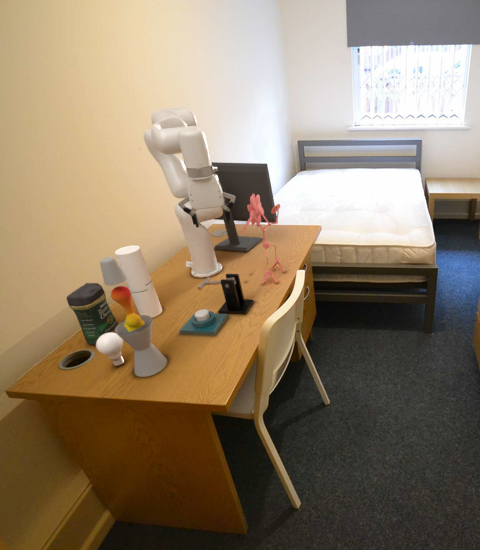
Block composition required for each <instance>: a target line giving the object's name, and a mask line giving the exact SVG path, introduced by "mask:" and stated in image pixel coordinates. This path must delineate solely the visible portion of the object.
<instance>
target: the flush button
mask: <svg viewBox="0 0 480 550" xmlns="http://www.w3.org/2000/svg"><path fill="white" fill-rule="evenodd" d="M209 311H210V310H208V309H205V308H204V309H199V310H197V311H195V312H194V313H195V318H196V321H198V322H202V321H205V320H207V319H209V318H210V314H209Z"/></svg>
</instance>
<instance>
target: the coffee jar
mask: <svg viewBox="0 0 480 550" xmlns="http://www.w3.org/2000/svg"><path fill="white" fill-rule="evenodd" d="M66 301H67V304H68V307H69V308H70V309H71V310H72V311H73V313H74V314H75V316H76V319H77V322H78V323H79V326H80V328H81V332H82V334H83V337H84V340H85V342H86V344H88V345H91V346H96V342H97V340H98V338H99V337H100V336H101V335H103V334H105V333H109V332H113V333H116V332H115V328H116V327H117V326H118V324H119V322H118V320H117V319H116V317H115V315H114V313H113V311H112V309H111V307H110V306H109V303H108V301H107V297H106V292H105V290H104V288H103V286H102V285H101V284H100V283H98V282H86V283H84V284H83V285H81V286H80V287H78V288H76V289H75V290H74V291H72V292H71V293H70V294H68V295H67V296H66Z"/></svg>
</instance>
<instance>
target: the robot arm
mask: <svg viewBox="0 0 480 550" xmlns="http://www.w3.org/2000/svg"><path fill="white" fill-rule="evenodd" d="M150 119H151V124H152V125H151V127H150V128H147V129H146V130H144V132H143V141H144V143H145V146H146V148H147V150H148V152H149V153H150V154H151V156H152V158H153V159H154V160H155V161H156V162H157V163H158V165H159V167H160V168H161V170H162V172H163V175H164V178H165V180H166V183H167V185H168V188H169V190H170V192H171V195H173V197H175V198H176V199H181V200H180V201H178V202H177V203H176V204H175V205H174V214H175V216H176V218H177V221H178V222H179V225H180V227H181V230H182V232H183V235H184V239H185V241H186V245H187V249H188V251H189V256H190V259H191V260H186V261H185V268H188V269H191V271H190V273H191V276H193V277H194V278H199V279H200V278H201V279H202V278H207V277H213V276H215V275H218V274H219V273H220V272H221V271H222V270H223V265H222V264H221V263H220V262H218V261H217V260H218V259H217V256H216V252H215V249H214V244H213V240H212V237H211V232H210V230H209V229H208V228H207V227H206V226H205V225H204V224H202V223H204V222H207V221H211V220H215V219H216V218H219V217H221V216H222V214H223V209H225V215H226V220H227V223H230V222H229V220H231V216H230V209H231V208H232V206H233V205H234V201H235V196H234V195H231V194H228V193H225V192H223V191H222V188H221V184H220V181H219V179H218V176H217V174H214V172H216V171H218V168H217V167H215V166H212V163H211V162H212V160H211V154H210V152H209V146H208V142H207V138H206V134H205V131H203V129H201V128H200V127H199V126H198V121H197V118H196V115H195V113H194V112H193V111H192V110H191V109H190V108H188V107H185V106H182V107H165V108H159V109H156V110H155V111H154V112H153V113H152V114H151V117H150ZM177 154H178V155H179V154H181V155H182V159H181V157H179V156H178V155H177ZM184 163H185V164H184ZM224 197H226V198H229V199H231V200H230V202H229V204H228V205H227V204H226V203H224Z"/></svg>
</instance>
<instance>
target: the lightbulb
mask: <svg viewBox="0 0 480 550" xmlns="http://www.w3.org/2000/svg"><path fill="white" fill-rule="evenodd" d="M95 347H96V349H97V350H96V351H98V353H100V354H102V355H104V356H106V357H107V358H108V359H109V360H110V361H111V363H112V364H113V366H115V367H118V366H121V365H122V364H124V363H125V360H124V358H123V356H122V349H123V347H124V340H123V339H122V338H121V337H120V336H118V335H117V334H116V333H113V332H109V333H105V334H103V335H101V336H100V337H99V338H98V340H97V342H96V345H95Z"/></svg>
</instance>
